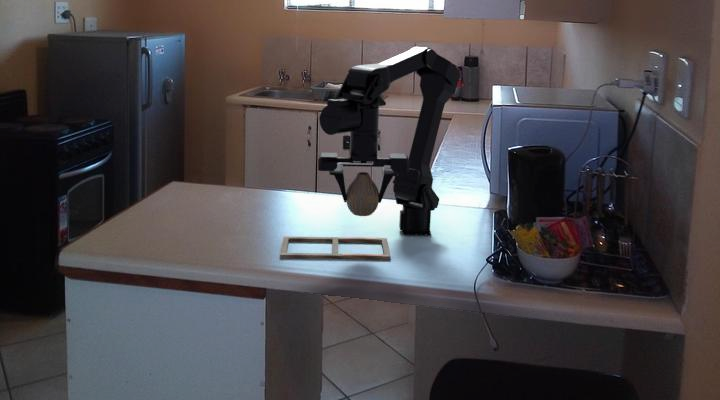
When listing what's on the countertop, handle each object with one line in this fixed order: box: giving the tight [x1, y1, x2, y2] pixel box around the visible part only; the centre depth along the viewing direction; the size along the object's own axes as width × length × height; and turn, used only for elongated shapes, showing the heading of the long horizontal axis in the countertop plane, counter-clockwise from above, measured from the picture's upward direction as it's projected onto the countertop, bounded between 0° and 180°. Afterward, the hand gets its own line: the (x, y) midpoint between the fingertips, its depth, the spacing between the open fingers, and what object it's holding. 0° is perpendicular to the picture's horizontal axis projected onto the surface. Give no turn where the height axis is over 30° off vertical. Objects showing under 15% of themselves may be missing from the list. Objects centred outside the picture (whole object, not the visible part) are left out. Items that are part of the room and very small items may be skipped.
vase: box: [345, 171, 380, 217], centre depth 160 cm, size 7×7×9 cm
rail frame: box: [279, 236, 392, 261], centre depth 163 cm, size 23×12×1 cm, turn 92°
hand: (362, 202), depth 161 cm, fingers closed on vase, 7 cm apart
